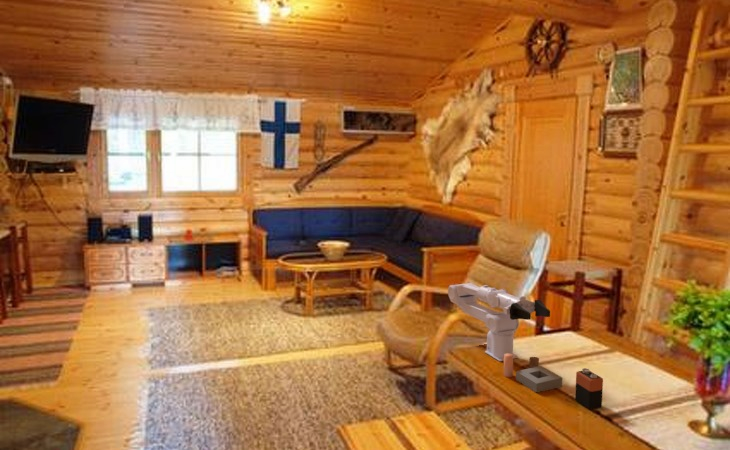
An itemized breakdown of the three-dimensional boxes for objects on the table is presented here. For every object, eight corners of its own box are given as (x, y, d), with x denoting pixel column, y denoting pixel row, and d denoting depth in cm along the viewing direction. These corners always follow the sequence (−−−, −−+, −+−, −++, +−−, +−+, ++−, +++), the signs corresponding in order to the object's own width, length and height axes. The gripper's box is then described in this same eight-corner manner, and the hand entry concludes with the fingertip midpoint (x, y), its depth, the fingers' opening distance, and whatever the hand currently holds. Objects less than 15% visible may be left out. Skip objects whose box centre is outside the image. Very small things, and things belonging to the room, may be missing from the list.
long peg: (501, 374, 184) (502, 354, 183) (509, 372, 185) (509, 352, 184) (507, 377, 181) (507, 357, 180) (514, 376, 183) (515, 356, 182)
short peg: (527, 368, 188) (527, 357, 188) (534, 367, 189) (534, 356, 189) (533, 372, 185) (533, 360, 185) (540, 370, 187) (540, 359, 186)
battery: (586, 397, 167) (588, 366, 165) (602, 408, 160) (604, 375, 159) (574, 400, 166) (575, 368, 164) (589, 410, 159) (591, 377, 158)
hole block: (515, 379, 180) (516, 371, 179) (540, 374, 184) (540, 365, 183) (536, 392, 171) (536, 383, 170) (562, 386, 174) (562, 377, 174)
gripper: (495, 295, 187) (521, 305, 175) (531, 291, 193) (558, 300, 180) (495, 315, 188) (520, 327, 176) (530, 310, 194) (557, 321, 181)
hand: (539, 315), depth 178 cm, fingers open, 7 cm apart
